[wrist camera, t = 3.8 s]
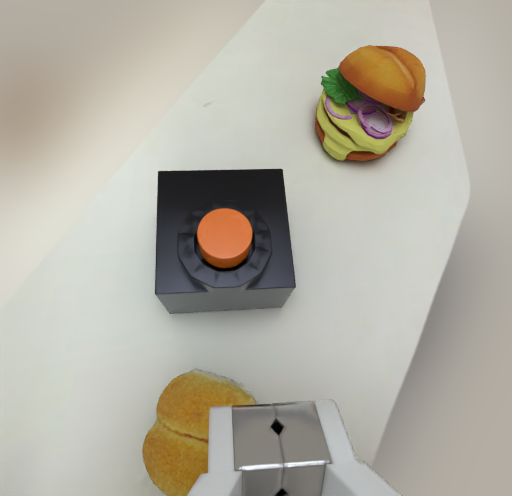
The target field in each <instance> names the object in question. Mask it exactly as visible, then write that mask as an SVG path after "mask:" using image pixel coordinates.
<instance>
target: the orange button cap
mask: <svg viewBox="0 0 512 496" xmlns="http://www.w3.org/2000/svg"><path fill="white" fill-rule="evenodd" d="M197 238H198V243H199V249H200V252H201V254H202V256H203V258H204V259H205V260H206V261H207V262H208V263H209V264H211V265H213V266H215V267H219V268H231V267H234V266H237V265H239V264H240V263H241V262H243V261H244V260H245V258H246V257H247V256H248V254H249V251H250V247H251V241H252V227H251V225H250V222H249V221H248V219H247V218H246V217H245V216H244V215H243V214H241V213H240V212H238V211H236V210H233V209H228V208H221V209H216V210H213V211H211V212H210V213H208V214H207V215H205V216H204V217H203V219H202V220H201V221H200V223H199V226H198V230H197Z"/></svg>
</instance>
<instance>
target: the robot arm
mask: <svg viewBox="0 0 512 496" xmlns="http://www.w3.org/2000/svg"><path fill="white" fill-rule="evenodd" d="M187 496H402V495H401V494H400V493H399V492H398V491H396V490H395V489H394V488H393V487H392V486H391V485H390V484H389V483H388V482H386V481H385V480H384V479H383V478H382V477H381V476H380V475H379V474H378V473H376V472H375V471H374V470H373V469H372V468H371V467H370V466H369V465H368V464H366V463H365V462H364V461H363V462H358V461H357V458H356V456H355V453H354V450H353V448H352V445H351V442H350V440H349V437H348V434H347V432H346V429H345V426H344V423H343V421H342V418H341V415H340V413H339V410H338V407H337V405H336V403H335V401H334V400H318V401H300V402H286V403H272V404H260V405H232V408H231V406H210V411H209V446H208V473H203V474H201V475H200V476H199V478H198V479H197V481H196V482H195V484H194V485H193V487H192V488H191V490H190V492H189V493H188V495H187Z"/></svg>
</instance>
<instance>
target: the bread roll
mask: <svg viewBox="0 0 512 496" xmlns="http://www.w3.org/2000/svg"><path fill="white" fill-rule="evenodd" d="M232 405H256V402H255V399H254V397H253V396H252V395H251V394H250V392H249V391H248V390H247V389H246V388H245V387H244V386H243V385H242V384H241V383H238V382H236V381H233V380H231V379H228V378H225V377H222V376H219V375H216V374H213V373H206V372H204V371H202V370H197V369H193V370H191V371H190V372H188V373H185V374H182V375H180V376H178V377H176V378H175V379H173V380H172V381H171V382H170V383H169V385H168V386H167V387H166V388H165V390H164V391H163V393H162V394H161V396H160V398H159V401H158V405H157V419H156V422H155V424H154V425H153V427H152V428H151V429H150V430H149V432H148V433H147V435H146V437H145V440H144V444H143V459H144V463H145V466H146V469H147V471H148V474H149V476H150V478H151V480H152V481H153V483H154V484H155V485H156V486H157V487H158V488H159V489H160V490H161V491H162V492H163V493H164V494H165V495H166V496H187V495H188V493H189V492H190V490H191V488H192V487H193V485H194V484H195V482H196V481H197V479H198V478H199V476H200V475H201V474H203V473H208V446H209V411H210V406H231V408H232Z"/></svg>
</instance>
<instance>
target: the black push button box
mask: <svg viewBox="0 0 512 496" xmlns="http://www.w3.org/2000/svg"><path fill="white" fill-rule="evenodd" d="M221 208H228V209H233V210H236V211H238V212H240V213H241V214H243V215H244V216H245V217H246V218H247V219H248V221H249V222H250V225H251V227H252V241H251V247H250V251H249V254H248V256H247V257H246V258H245V260H244V261H243V262H241V263H240V264H239V265H237V266H234V267H231V268H219V267H215V266H213V265H211V264H209V263H208V262H207V261H206V260H205V259H204V258H203V256H202V254H201V252H200V249H199V243H198V238H197V230H198V226H199V223H200V221H201V220H202V219H203V217H204V216H205V215H207V214H208V213H210V212H211V211H213V210H216V209H221ZM295 287H296V284H295V275H294V267H293V258H292V249H291V240H290V231H289V222H288V213H287V205H286V196H285V187H284V178H283V170H282V169H250V170H198V171H158V194H157V235H156V276H155V294H156V296H157V297H158V298H159V300H160V301H161V303H162V304H163V305H164V307H165V308H166V309H167V311H168V312H169V313H170V314H175V313H192V312H210V311H228V310H246V309H264V308H281V307H282V306H283V305H284V303H285V302H286V300H287V299H288V297H289V296H290V294H291V293H292V291H293V290H294V289H295Z"/></svg>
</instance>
